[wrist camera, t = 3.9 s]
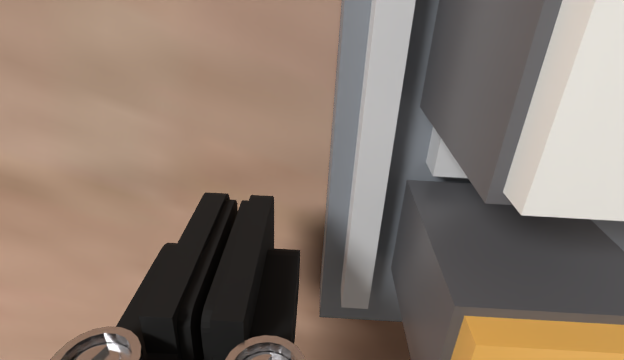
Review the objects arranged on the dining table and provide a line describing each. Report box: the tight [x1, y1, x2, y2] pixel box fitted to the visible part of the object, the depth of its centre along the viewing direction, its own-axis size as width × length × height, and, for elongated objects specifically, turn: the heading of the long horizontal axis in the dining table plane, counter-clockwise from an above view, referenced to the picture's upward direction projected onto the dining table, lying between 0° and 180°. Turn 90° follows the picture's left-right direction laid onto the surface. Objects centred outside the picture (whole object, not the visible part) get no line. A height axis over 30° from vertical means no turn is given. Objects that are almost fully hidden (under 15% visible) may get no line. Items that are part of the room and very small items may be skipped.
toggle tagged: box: [391, 180, 624, 360], centre depth 9 cm, size 3×4×5 cm
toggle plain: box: [420, 0, 624, 221], centre depth 7 cm, size 3×4×5 cm
